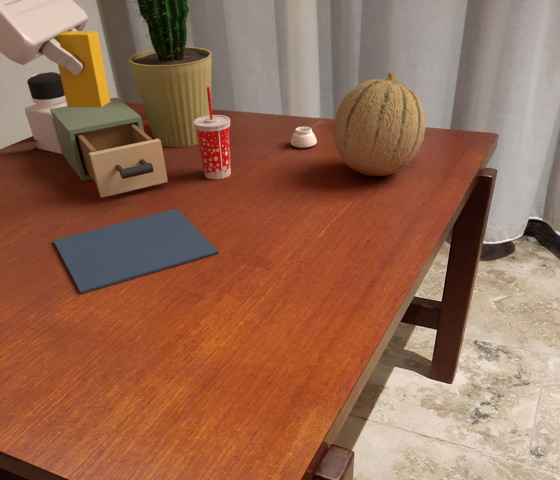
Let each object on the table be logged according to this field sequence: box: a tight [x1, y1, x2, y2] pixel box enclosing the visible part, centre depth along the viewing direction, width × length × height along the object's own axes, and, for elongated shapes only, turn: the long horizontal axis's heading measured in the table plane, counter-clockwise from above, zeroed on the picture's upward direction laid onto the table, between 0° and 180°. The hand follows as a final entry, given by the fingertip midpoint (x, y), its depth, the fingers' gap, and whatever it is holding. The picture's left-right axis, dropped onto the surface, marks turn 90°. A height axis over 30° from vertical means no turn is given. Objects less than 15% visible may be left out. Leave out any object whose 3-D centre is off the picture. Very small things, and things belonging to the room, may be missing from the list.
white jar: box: [289, 126, 318, 149], centre depth 106 cm, size 5×3×5 cm
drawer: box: [75, 123, 169, 198], centre depth 92 cm, size 18×11×7 cm, turn 29°
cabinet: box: [50, 97, 145, 182], centre depth 101 cm, size 15×13×9 cm
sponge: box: [54, 30, 111, 107], centre depth 78 cm, size 4×5×9 cm
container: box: [24, 71, 67, 155], centre depth 107 cm, size 8×8×13 cm
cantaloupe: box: [333, 72, 426, 177], centre depth 90 cm, size 15×15×15 cm
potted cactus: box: [128, 0, 213, 148], centre depth 103 cm, size 15×15×30 cm
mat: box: [53, 208, 220, 295], centre depth 78 cm, size 19×16×1 cm
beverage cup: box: [193, 87, 232, 180], centre depth 93 cm, size 6×6×14 cm
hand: (88, 66), depth 78 cm, fingers closed on sponge, 3 cm apart
